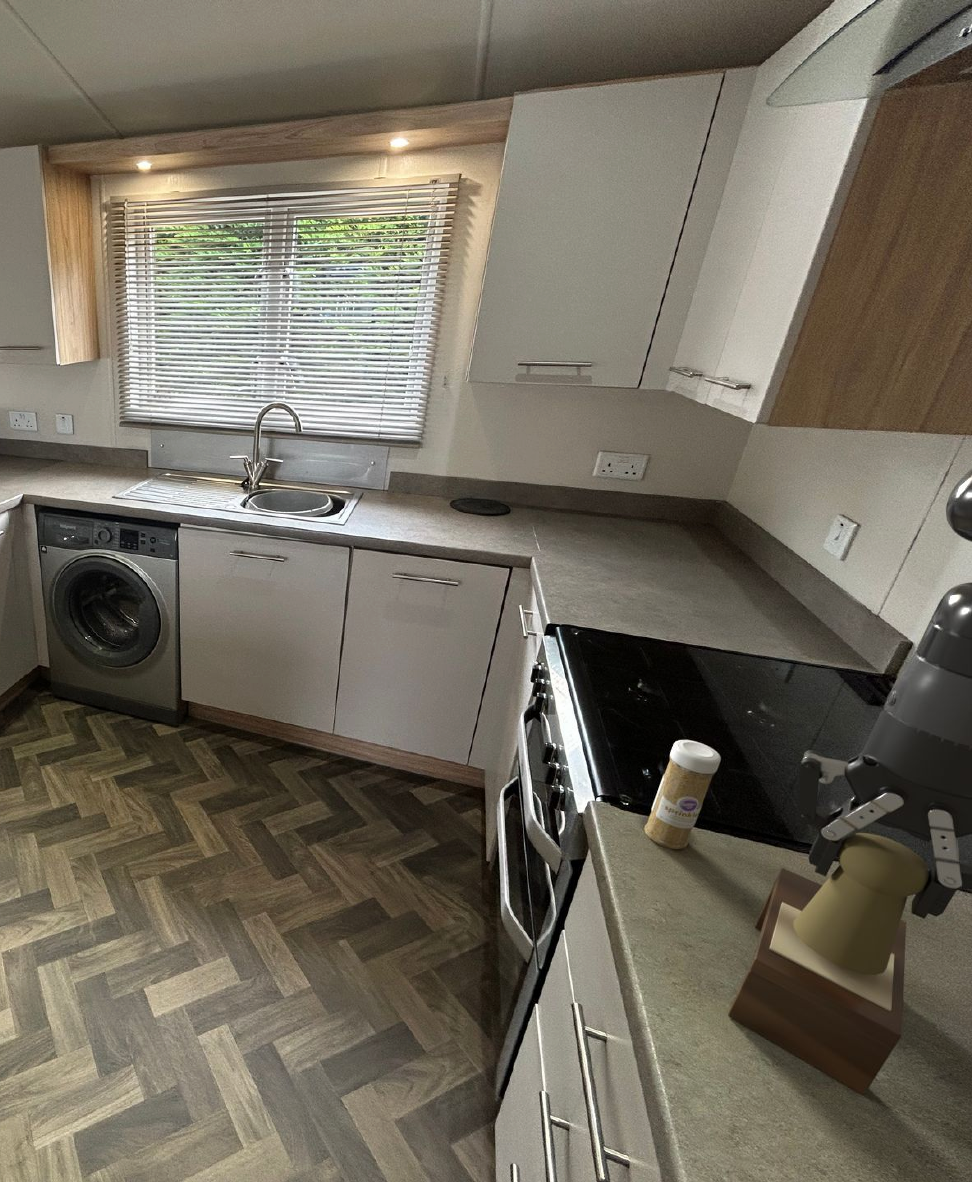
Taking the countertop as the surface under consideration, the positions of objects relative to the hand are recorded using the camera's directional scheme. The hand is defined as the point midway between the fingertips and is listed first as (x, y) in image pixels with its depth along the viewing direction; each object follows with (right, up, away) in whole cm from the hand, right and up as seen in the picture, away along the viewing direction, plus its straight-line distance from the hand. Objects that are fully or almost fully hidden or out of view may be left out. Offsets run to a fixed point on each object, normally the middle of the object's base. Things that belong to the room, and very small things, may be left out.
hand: (867, 888), depth 54 cm
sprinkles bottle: (+3, -6, +26) cm, 27 cm away
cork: (0, -6, +2) cm, 7 cm away
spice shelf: (+1, -14, +7) cm, 15 cm away
